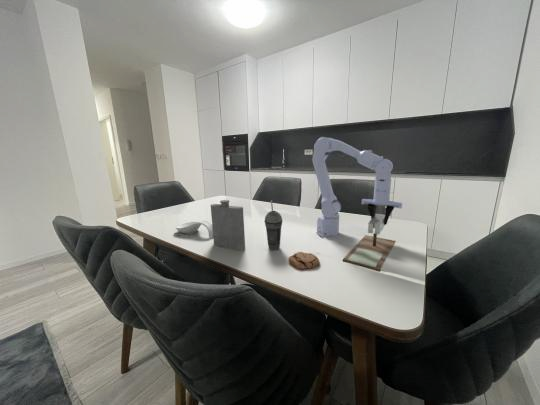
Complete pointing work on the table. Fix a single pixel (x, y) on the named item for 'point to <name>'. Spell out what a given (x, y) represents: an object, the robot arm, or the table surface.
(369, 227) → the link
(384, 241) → the stand
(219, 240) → the hip flask
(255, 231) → the table surface
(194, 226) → the white curved piece
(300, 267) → the cookie
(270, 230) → the beverage cup
